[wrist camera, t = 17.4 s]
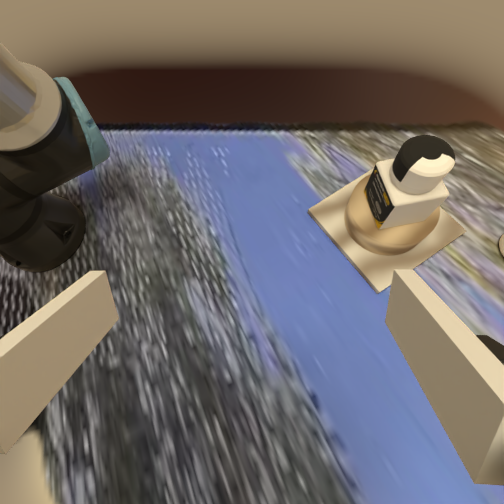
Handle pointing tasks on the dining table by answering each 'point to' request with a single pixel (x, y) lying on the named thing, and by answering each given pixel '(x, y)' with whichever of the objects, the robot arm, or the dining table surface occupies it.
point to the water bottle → (501, 244)
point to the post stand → (380, 235)
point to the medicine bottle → (410, 182)
